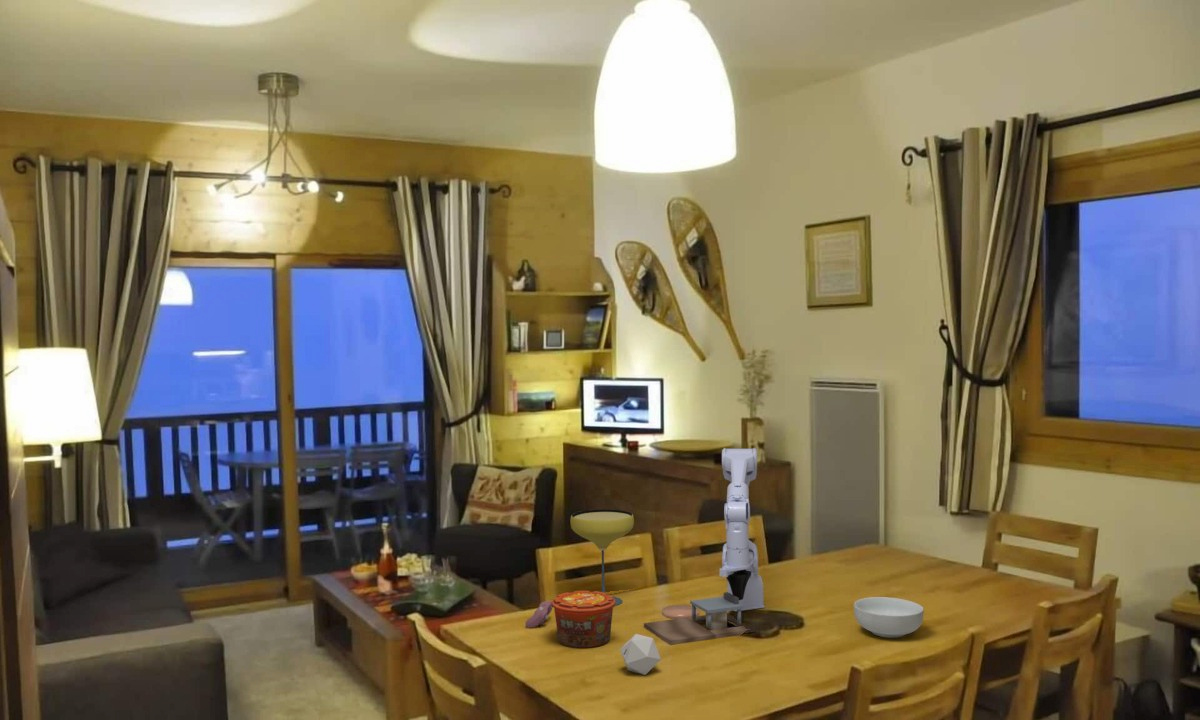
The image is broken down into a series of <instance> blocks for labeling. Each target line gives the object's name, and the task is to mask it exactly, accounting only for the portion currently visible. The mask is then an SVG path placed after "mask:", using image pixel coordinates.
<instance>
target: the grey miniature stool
mask: <svg viewBox="0 0 1200 720" xmlns="http://www.w3.org/2000/svg"><path fill="white" fill-rule="evenodd" d="M689 604H691V606H692V620H696V608H698V609H699V610H701V611H702V612H704V613H705V614H706V613H707V627H706V629H707V630H711V613H716V612H724V611H727V612H730V611H733V610H737V611H736V618H737V624H738V625H741V621H742V611H741V609H743V606H742V605H740V604H739V598H738V597H736V596H734V595H732V594H730V593H728V591H727V592H726V591H725V592H723V596H715V597H709V598H702V599H701V598H700V599H692V600H689Z"/></svg>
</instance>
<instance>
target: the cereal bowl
mask: <svg viewBox="0 0 1200 720" xmlns="http://www.w3.org/2000/svg"><path fill="white" fill-rule="evenodd" d="M853 611H854V612H853V613H854V617H855V620H856V621H857V623H858V624H859V625H860V626H861V627H862V628H864V629H865V630H867V631H870V632H871V633H872V634H873V635H875V636H878V637H882V638H889V639H893V638H894V639H896V638H902V637H904V636H905V635H908V634H912V633H913V632H915V631H917V630H918V629H919V628H921V626H922V623H923V620H924V613H925V611H924V607H923V606H922V605H921V604H919V603H917V602H914V601H911V600H908V599H903V598H897V597H886V596H874V597H873V596H872V597H871V596H870V597H864V598H860V599H857V600H856V601H855V602H854V603H853Z"/></svg>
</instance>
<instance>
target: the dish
mask: <svg viewBox="0 0 1200 720" xmlns="http://www.w3.org/2000/svg"><path fill="white" fill-rule="evenodd" d="M661 611H662V612H661V613H662V616H663V617H664V618H665V617H666V618H668V619H680V618H687V617H692V605H687V604H674V605H673V604H672V605H668V606H665V607H662V610H661ZM696 616H700V609H699V608H697V607H696Z"/></svg>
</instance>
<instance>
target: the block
mask: <svg viewBox="0 0 1200 720" xmlns="http://www.w3.org/2000/svg"><path fill="white" fill-rule="evenodd" d="M727 613H728V611H724V612H716V613H711V629H710V630H716V629H724V628H728V623H727ZM705 615H706V623H705V628H707V613H706V612H705Z"/></svg>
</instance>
